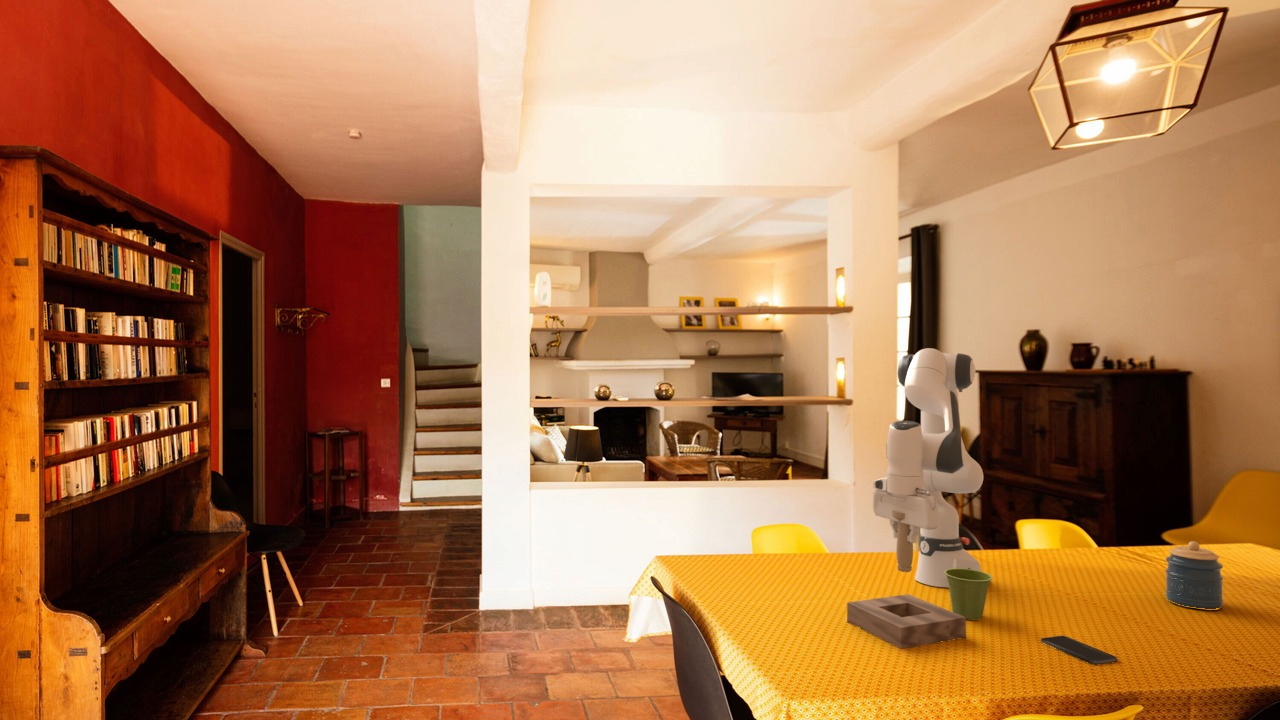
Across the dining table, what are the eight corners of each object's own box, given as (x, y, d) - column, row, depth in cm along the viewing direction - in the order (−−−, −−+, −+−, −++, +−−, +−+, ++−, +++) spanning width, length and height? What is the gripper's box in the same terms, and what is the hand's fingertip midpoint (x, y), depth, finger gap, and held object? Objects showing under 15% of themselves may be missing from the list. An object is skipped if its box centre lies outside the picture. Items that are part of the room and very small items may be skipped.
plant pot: (972, 626, 190) (972, 582, 190) (934, 613, 200) (934, 571, 200) (1002, 619, 195) (1002, 576, 195) (964, 606, 205) (964, 566, 206)
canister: (1225, 603, 209) (1225, 541, 209) (1220, 615, 200) (1220, 549, 200) (1169, 594, 218) (1169, 534, 218) (1162, 604, 208) (1161, 541, 209)
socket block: (908, 612, 200) (908, 594, 200) (965, 637, 182) (965, 617, 182) (847, 621, 193) (847, 602, 193) (900, 649, 174) (900, 627, 174)
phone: (1093, 662, 165) (1038, 638, 179) (1093, 667, 165) (1038, 643, 179) (1120, 658, 167) (1064, 635, 182) (1120, 663, 167) (1064, 639, 182)
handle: (921, 572, 186) (921, 512, 186) (899, 574, 184) (899, 513, 184) (909, 567, 190) (909, 509, 191) (887, 569, 189) (888, 510, 189)
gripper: (945, 491, 179) (945, 548, 179) (887, 479, 198) (887, 531, 198) (925, 492, 177) (924, 550, 177) (868, 480, 196) (868, 533, 196)
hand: (904, 540), depth 187 cm, fingers closed on handle, 3 cm apart
